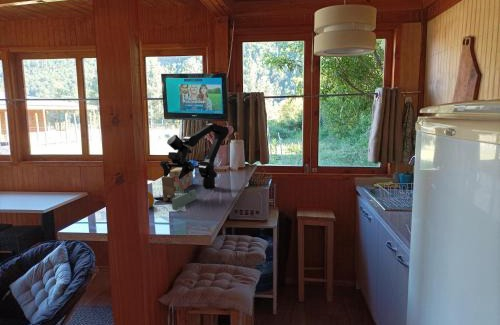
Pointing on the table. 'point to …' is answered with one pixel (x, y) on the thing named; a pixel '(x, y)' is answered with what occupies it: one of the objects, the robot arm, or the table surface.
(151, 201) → the fruit
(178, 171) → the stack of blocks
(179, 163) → the robot arm
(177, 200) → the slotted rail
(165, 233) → the table surface
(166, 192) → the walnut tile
